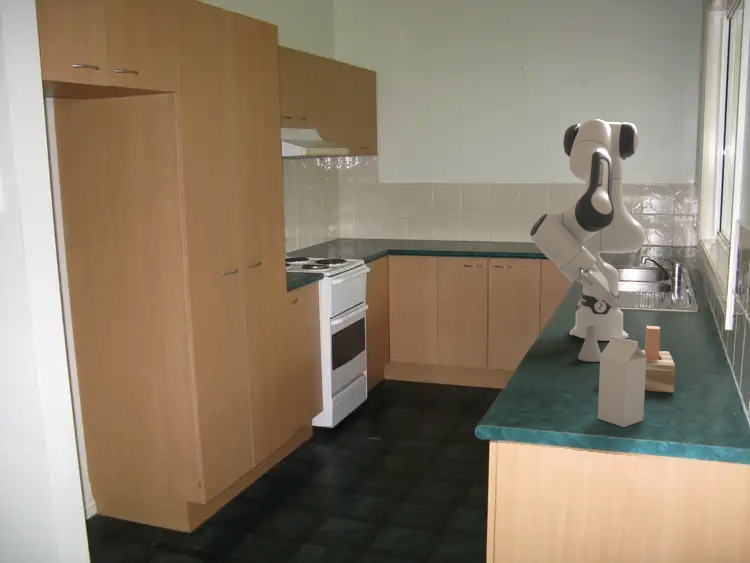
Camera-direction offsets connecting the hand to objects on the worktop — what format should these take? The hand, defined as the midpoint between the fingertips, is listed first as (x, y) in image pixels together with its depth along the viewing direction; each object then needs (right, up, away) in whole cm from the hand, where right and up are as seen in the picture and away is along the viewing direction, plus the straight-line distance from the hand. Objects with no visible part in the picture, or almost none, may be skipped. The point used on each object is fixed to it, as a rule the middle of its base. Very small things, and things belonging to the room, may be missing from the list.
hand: (616, 304), depth 193 cm
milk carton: (-8, -26, -26) cm, 37 cm away
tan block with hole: (+9, -21, +1) cm, 23 cm away
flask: (0, -17, +24) cm, 30 cm away
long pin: (+9, -21, +1) cm, 23 cm away
